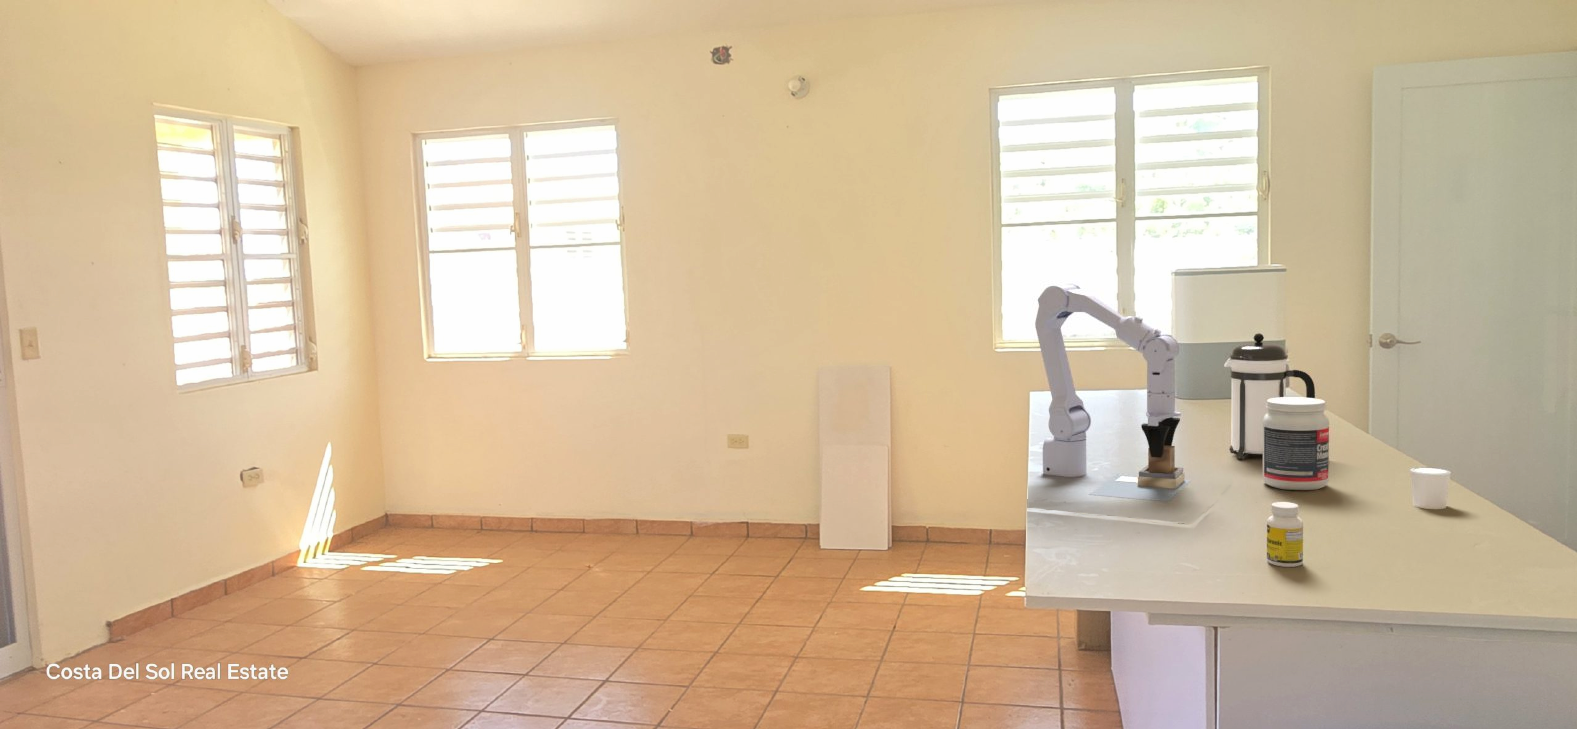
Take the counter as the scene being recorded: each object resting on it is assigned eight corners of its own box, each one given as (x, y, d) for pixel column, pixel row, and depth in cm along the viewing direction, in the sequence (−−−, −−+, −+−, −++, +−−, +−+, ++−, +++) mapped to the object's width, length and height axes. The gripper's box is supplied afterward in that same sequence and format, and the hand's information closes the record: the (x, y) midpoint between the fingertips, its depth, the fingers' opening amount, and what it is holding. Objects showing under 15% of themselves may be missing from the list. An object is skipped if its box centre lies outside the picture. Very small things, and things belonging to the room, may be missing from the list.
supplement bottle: (1260, 559, 179) (1260, 501, 178) (1291, 557, 179) (1291, 499, 178) (1277, 568, 174) (1278, 509, 172) (1309, 566, 174) (1310, 507, 173)
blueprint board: (1088, 498, 226) (1088, 480, 225) (1117, 477, 244) (1117, 461, 244) (1167, 505, 217) (1167, 486, 217) (1191, 483, 236) (1191, 466, 235)
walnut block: (1148, 475, 232) (1148, 448, 232) (1153, 471, 236) (1153, 444, 235) (1169, 477, 230) (1169, 449, 229) (1174, 473, 234) (1174, 445, 233)
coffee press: (1266, 465, 251) (1268, 337, 248) (1211, 455, 265) (1211, 333, 262) (1316, 456, 259) (1317, 332, 256) (1259, 446, 273) (1260, 329, 270)
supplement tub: (1336, 492, 222) (1337, 404, 220) (1270, 492, 225) (1270, 405, 223) (1318, 479, 235) (1320, 396, 233) (1256, 478, 238) (1256, 396, 236)
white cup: (1445, 502, 211) (1446, 467, 210) (1454, 510, 205) (1455, 474, 204) (1405, 500, 213) (1406, 466, 213) (1413, 509, 207) (1414, 473, 206)
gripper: (1172, 397, 223) (1172, 461, 224) (1187, 388, 235) (1187, 449, 236) (1137, 395, 227) (1137, 458, 228) (1154, 386, 239) (1154, 447, 240)
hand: (1160, 453), depth 233 cm, fingers open, 7 cm apart
